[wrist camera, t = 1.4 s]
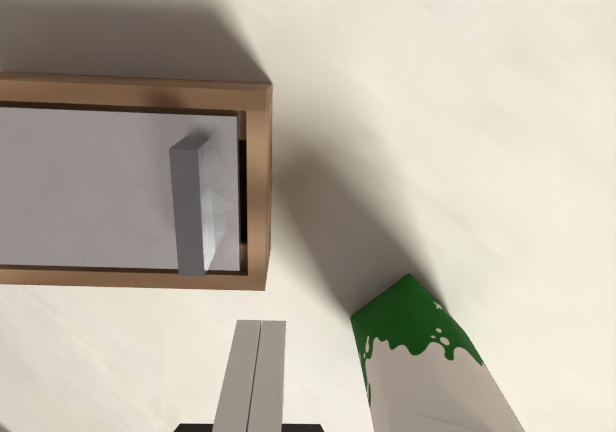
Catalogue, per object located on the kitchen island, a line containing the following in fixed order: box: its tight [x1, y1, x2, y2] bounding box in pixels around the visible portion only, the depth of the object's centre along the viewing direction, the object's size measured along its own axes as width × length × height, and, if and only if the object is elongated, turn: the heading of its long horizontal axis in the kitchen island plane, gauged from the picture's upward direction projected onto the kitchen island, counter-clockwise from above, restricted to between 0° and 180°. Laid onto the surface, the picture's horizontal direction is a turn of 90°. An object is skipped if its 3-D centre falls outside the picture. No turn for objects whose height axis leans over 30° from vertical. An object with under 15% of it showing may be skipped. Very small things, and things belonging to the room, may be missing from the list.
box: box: [0, 72, 272, 291], centre depth 31 cm, size 14×20×7 cm
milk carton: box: [350, 273, 525, 432], centre depth 31 cm, size 9×9×20 cm
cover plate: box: [0, 105, 241, 277], centre depth 26 cm, size 11×17×4 cm, turn 88°
